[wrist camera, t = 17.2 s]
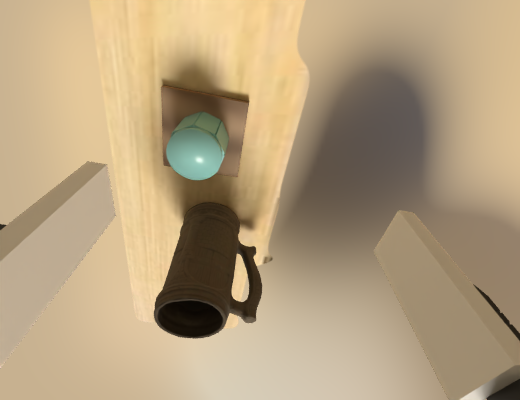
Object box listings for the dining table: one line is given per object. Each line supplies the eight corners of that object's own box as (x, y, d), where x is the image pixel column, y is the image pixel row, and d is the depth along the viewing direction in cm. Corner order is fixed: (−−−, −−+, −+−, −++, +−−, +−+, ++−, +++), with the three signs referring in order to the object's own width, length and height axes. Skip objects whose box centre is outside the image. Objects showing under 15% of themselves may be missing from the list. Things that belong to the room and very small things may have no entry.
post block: (163, 85, 35) (144, 96, 30) (249, 101, 37) (247, 115, 31) (165, 162, 42) (150, 184, 36) (237, 174, 43) (234, 197, 37)
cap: (193, 163, 41) (182, 186, 35) (171, 122, 37) (155, 139, 31) (234, 150, 40) (230, 171, 34) (215, 106, 36) (207, 121, 30)
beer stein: (179, 240, 52) (152, 341, 35) (181, 197, 46) (149, 295, 29) (253, 247, 54) (260, 345, 38) (264, 207, 48) (277, 303, 32)
